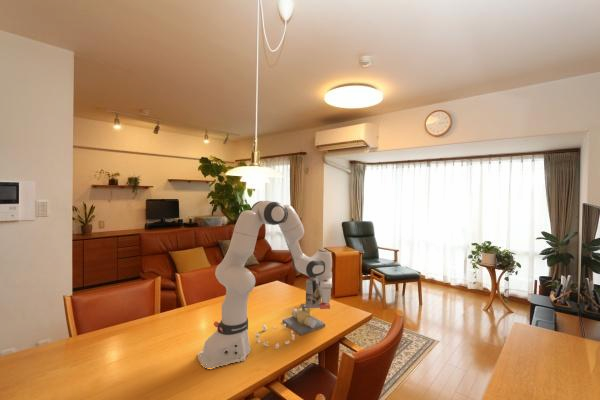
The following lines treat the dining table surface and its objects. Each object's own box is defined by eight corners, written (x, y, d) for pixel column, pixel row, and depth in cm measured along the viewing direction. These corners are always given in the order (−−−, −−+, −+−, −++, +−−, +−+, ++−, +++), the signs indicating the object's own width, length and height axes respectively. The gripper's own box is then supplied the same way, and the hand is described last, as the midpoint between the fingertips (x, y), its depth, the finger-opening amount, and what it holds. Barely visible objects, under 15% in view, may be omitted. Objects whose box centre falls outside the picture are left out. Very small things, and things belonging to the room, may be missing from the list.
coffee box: (313, 306, 170) (313, 281, 170) (305, 304, 174) (305, 279, 174) (321, 302, 177) (321, 277, 177) (313, 299, 181) (313, 275, 181)
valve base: (301, 335, 136) (301, 317, 136) (282, 322, 150) (282, 306, 150) (325, 326, 146) (325, 309, 145) (305, 314, 159) (305, 299, 159)
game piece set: (250, 333, 139) (250, 326, 139) (286, 324, 148) (286, 317, 148) (263, 353, 121) (263, 345, 121) (302, 342, 131) (303, 334, 130)
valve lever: (301, 309, 146) (301, 305, 146) (300, 307, 149) (300, 303, 149) (329, 308, 147) (329, 305, 147) (328, 306, 150) (328, 302, 150)
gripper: (316, 273, 161) (315, 296, 161) (320, 285, 140) (320, 312, 141) (326, 273, 161) (326, 296, 162) (332, 285, 141) (332, 312, 141)
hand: (323, 304), depth 151 cm, fingers closed
